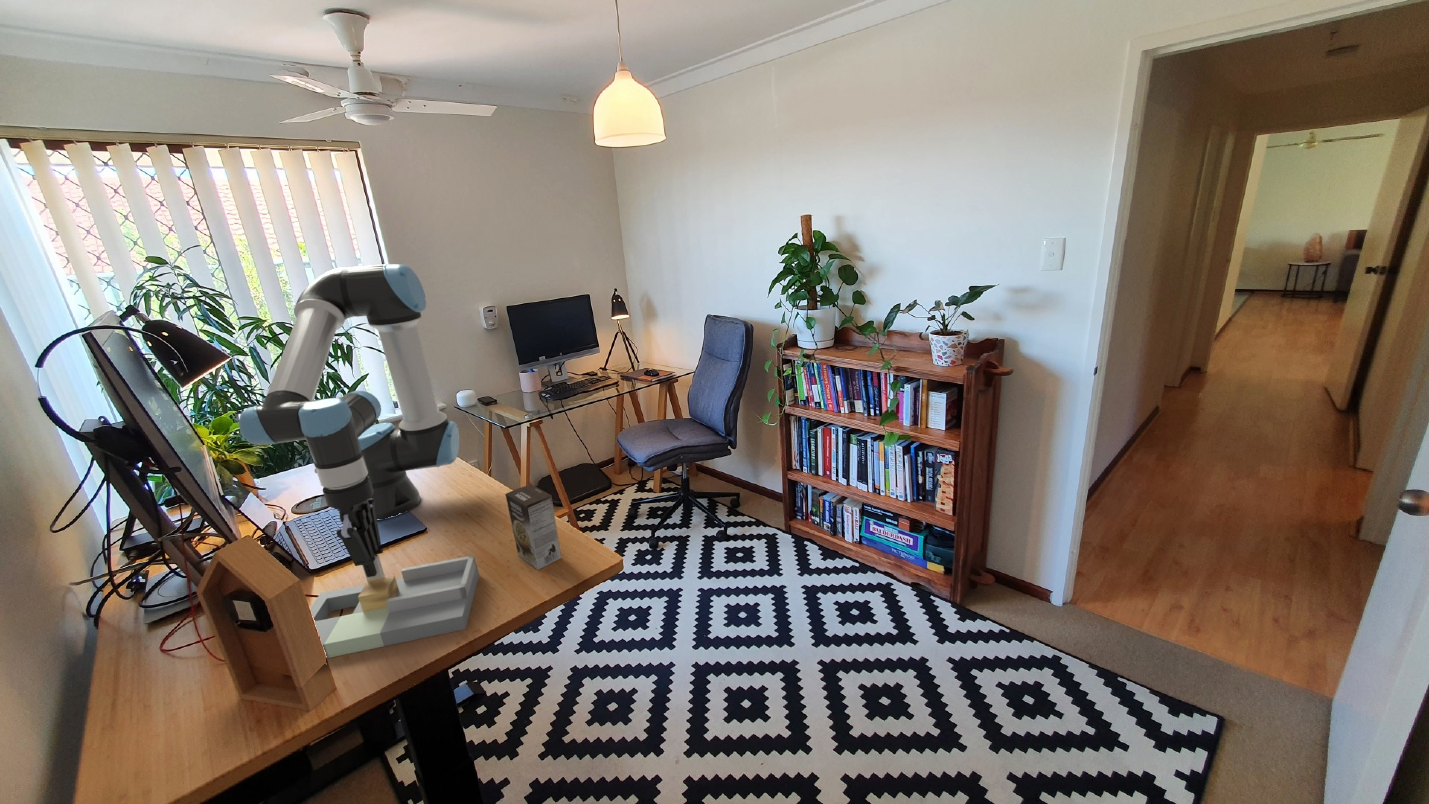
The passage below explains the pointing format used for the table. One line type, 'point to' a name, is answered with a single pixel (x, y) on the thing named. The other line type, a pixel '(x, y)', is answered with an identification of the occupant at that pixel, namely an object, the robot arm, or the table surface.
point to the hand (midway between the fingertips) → (378, 585)
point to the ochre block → (378, 593)
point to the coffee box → (534, 525)
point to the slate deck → (400, 608)
